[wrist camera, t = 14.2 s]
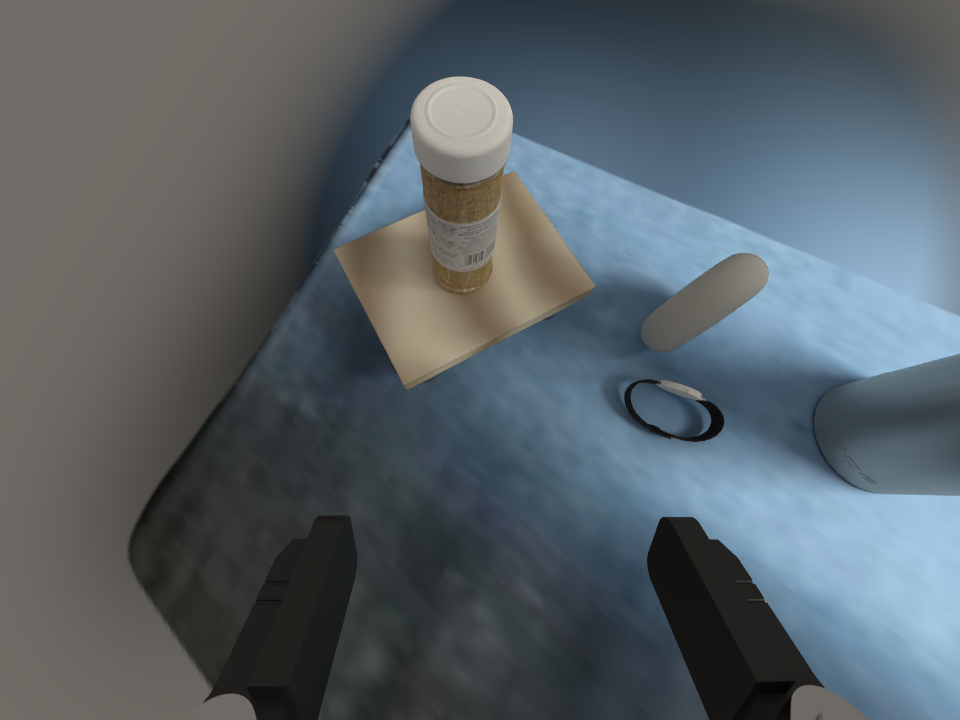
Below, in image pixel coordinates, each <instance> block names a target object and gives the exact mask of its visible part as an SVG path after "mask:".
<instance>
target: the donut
mask: <svg viewBox="0 0 960 720" xmlns="http://www.w3.org/2000/svg"><path fill="white" fill-rule="evenodd" d="M768 276H769V272H768V267H767V265H766V263H765V262H764V260H762V259H761V258H760V257H758V256H757V255H754V254H750V253H739V254H735V255H732V256H730V257H728V258H726V259H725V260H723V261H721V262H719V263H718V264H716V265H715V266H713V267H712V268H710V269H709V270H708V271H706V272H705V273H703V274H702V275H701V276H699V277H698V278H696V279H695V280H694V281H692V282H691V283H690V284H688V285H687V286H686V287H684V288H683V289H682V290H680V291H679V292H678V293H676V294H675V295H674V296H672V297H671V298H670V299H668V300H667V301H666V302H665V303H663V304H662V305H661V306H660V307H658V308H657V309H656V310H655V311H654V312H653V313H651V314H650V315H649V316H648V317H647V318H646V319H645V321H644V323H643V325H642V328H641V337H642V340H643V342H644V343H645V345H646V346H648V347H649V348H650V349H652V350H654V351H657V352H667V351H672V350H674V349H676V348H678V347H680V346H682V345H684V344H685V343H687V342H688V341H690V340H692V339H693V338H695V337H696V336H698V335H700V334H701V333H703V332H704V331H706V330H707V329H709V328H710V327H712V326H713V325H715V324H716V323H718V322H719V321H721V320H722V319H724V318H725V317H726V316H728V315H729V314H731V313H732V312H734V311H735V310H736V309H738V308H739V307H741V306H742V305H743V304H745V303H746V302H747V301H749V300H750V299H751V298H753V297H754V296H755V295H756V294H757V293H759V292H760V291H761V290H762V289H763V288H764V286H765V285H766V283H767V281H768Z"/></svg>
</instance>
